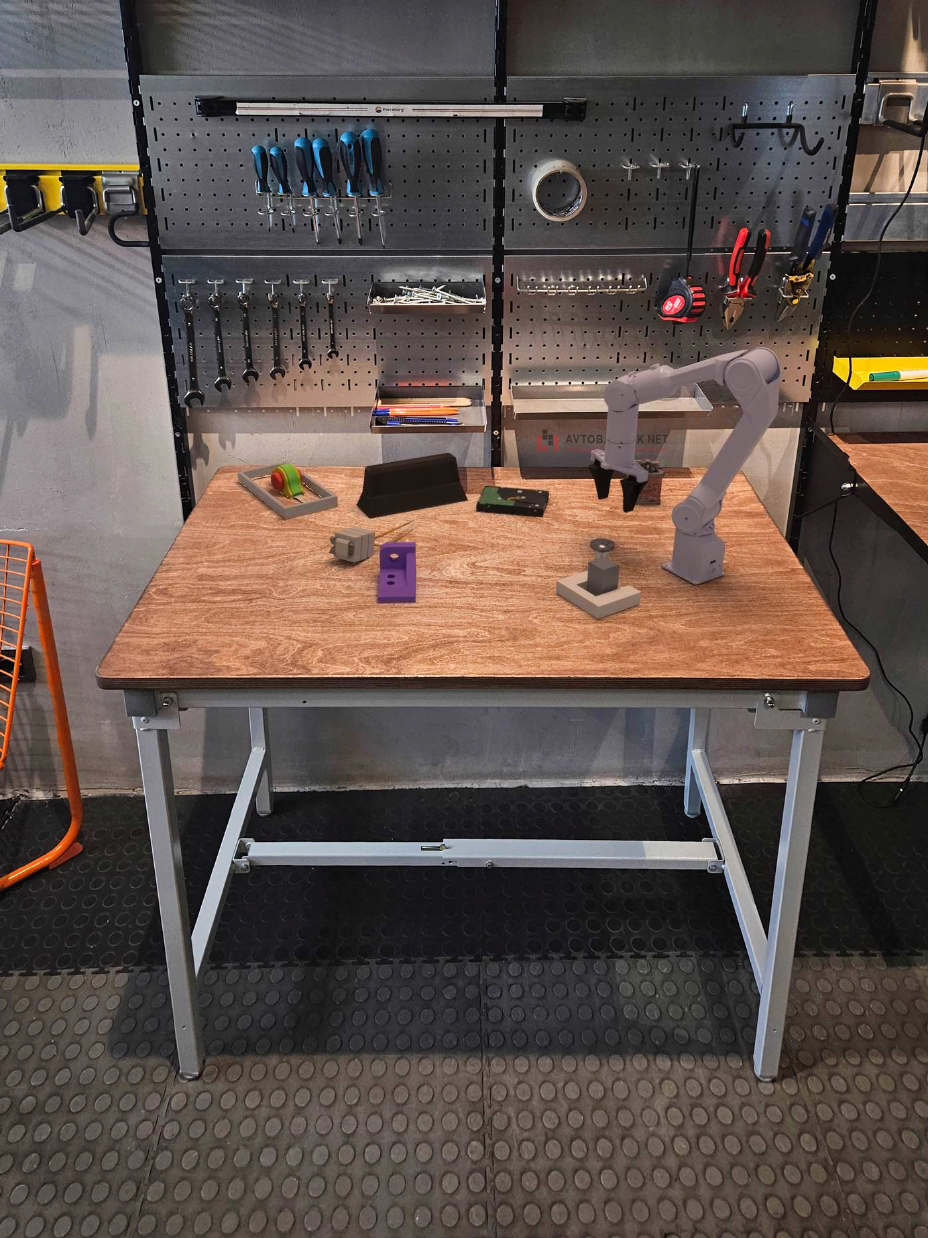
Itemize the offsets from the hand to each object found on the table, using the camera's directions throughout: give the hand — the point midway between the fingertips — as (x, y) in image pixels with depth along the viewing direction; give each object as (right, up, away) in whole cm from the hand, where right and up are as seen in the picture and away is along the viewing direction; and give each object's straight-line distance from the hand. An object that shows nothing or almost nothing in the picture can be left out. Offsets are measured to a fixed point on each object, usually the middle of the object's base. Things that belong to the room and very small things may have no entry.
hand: (615, 504), depth 201 cm
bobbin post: (-4, -14, -5) cm, 15 cm away
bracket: (-42, -17, -10) cm, 47 cm away
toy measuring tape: (-68, +5, +28) cm, 74 cm away
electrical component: (-48, -8, +6) cm, 49 cm away
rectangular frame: (-70, +6, +29) cm, 76 cm away
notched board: (-5, -19, -14) cm, 24 cm away
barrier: (-41, +3, +25) cm, 48 cm away
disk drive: (-19, +2, +24) cm, 31 cm away
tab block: (-5, -19, -14) cm, 24 cm away
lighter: (+10, +3, +25) cm, 27 cm away
